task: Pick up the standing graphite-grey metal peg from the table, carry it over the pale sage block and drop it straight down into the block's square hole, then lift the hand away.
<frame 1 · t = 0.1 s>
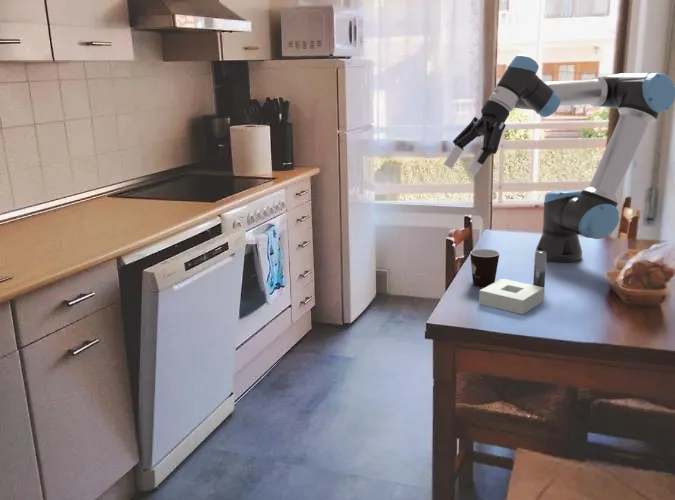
hand: (459, 169, 181), 36 cm above the table, tool tilted 35°, fingers open, 13 cm apart
hole block: (511, 302, 178), on the table
coffee mug: (483, 283, 194), on the table
peg: (538, 291, 186), on the table
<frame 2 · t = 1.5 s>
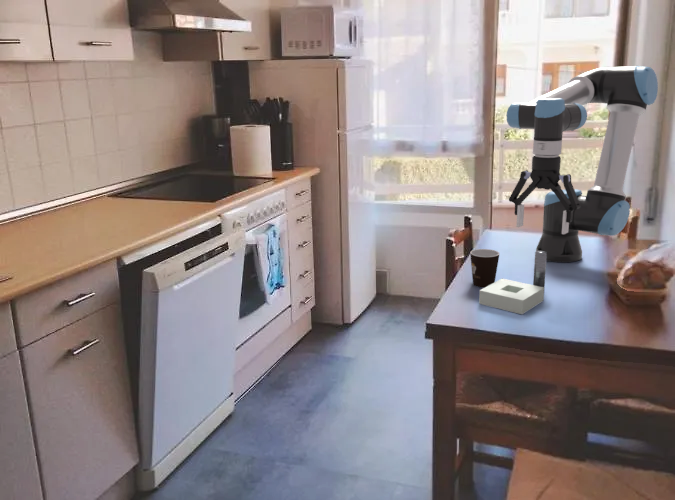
hand: (541, 229, 180), 19 cm above the table, tool pointing down, fingers open, 13 cm apart
nothing on the table moved.
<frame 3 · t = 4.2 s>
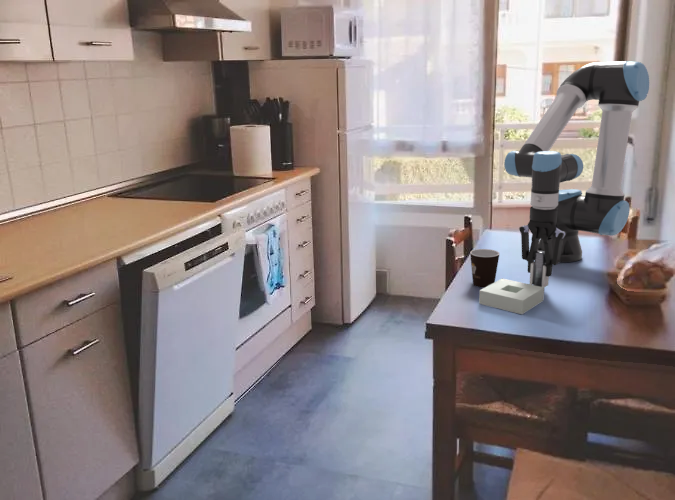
hand: (538, 284, 185), 2 cm above the table, tool pointing down, fingers closed on peg, 3 cm apart
peg: (538, 291, 186), on the table, touching gripper
everything else where it was.
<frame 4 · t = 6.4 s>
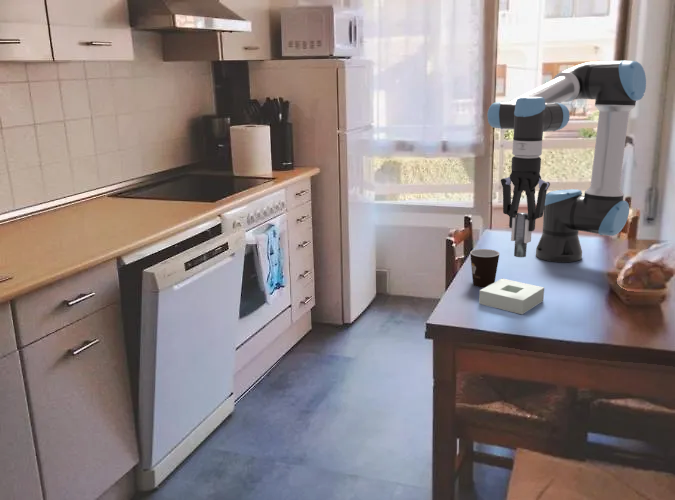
hand: (520, 240, 175), 17 cm above the table, tool pointing down, fingers closed on peg, 3 cm apart
peg: (519, 255, 176), point 13 cm above the table, touching gripper
everything else where it was.
when the fingers open (5 cm above the table, at t = 8.9 s): peg stays where it is, resting in hole block.
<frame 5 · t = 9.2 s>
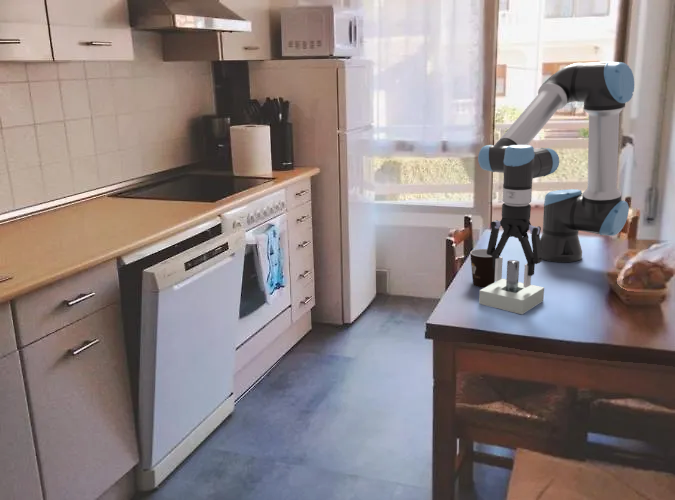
hand: (512, 282, 176), 6 cm above the table, tool pointing down, fingers open, 8 cm apart
peg: (511, 302, 178), resting in hole block
everything else where it was.
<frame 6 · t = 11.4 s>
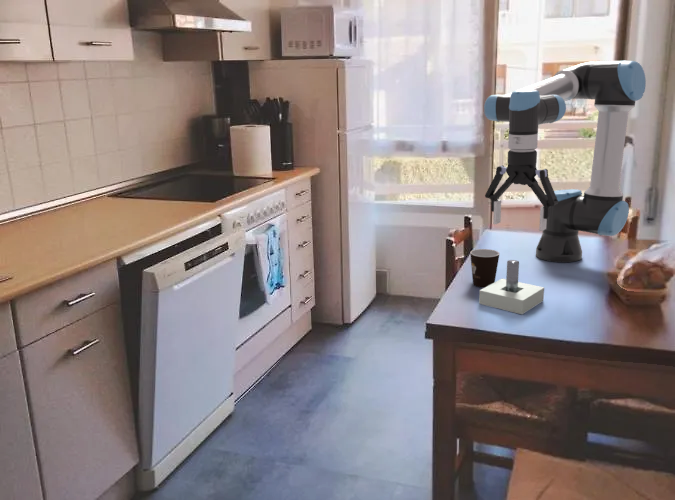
hand: (519, 226, 175), 21 cm above the table, tool pointing down, fingers open, 13 cm apart
nothing on the table moved.
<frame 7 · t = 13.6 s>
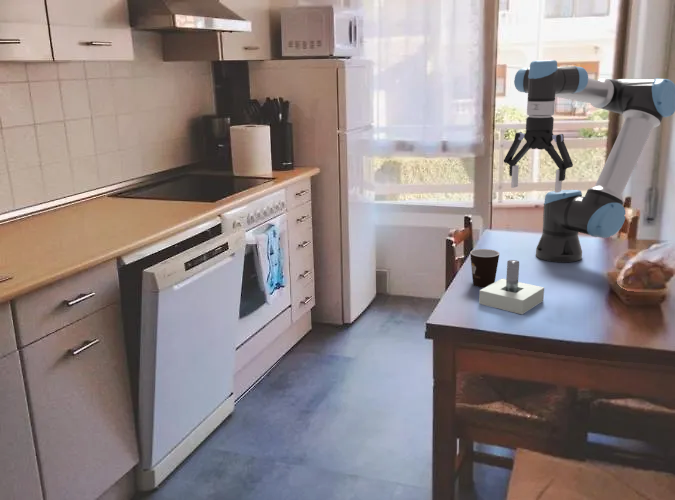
hand: (535, 189, 187), 29 cm above the table, tool pointing down, fingers open, 13 cm apart
nothing on the table moved.
at the end: peg 0.0 cm off-centre on the hole block, point 0.0 cm above the hole block's base; peg tilted 0°; the gripper is holding nothing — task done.
